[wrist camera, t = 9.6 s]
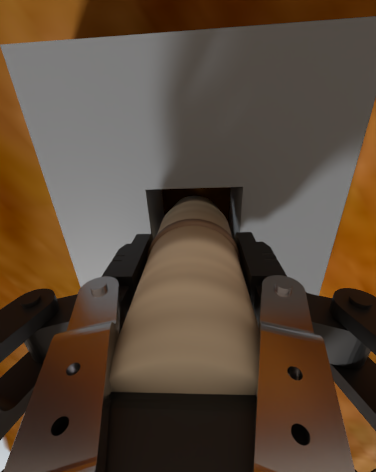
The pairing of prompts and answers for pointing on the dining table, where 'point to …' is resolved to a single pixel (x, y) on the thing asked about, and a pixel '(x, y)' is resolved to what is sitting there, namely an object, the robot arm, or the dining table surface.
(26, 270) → the dining table surface
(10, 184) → the dining table surface
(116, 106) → the socket block
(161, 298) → the peg
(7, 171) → the dining table surface
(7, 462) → the robot arm
